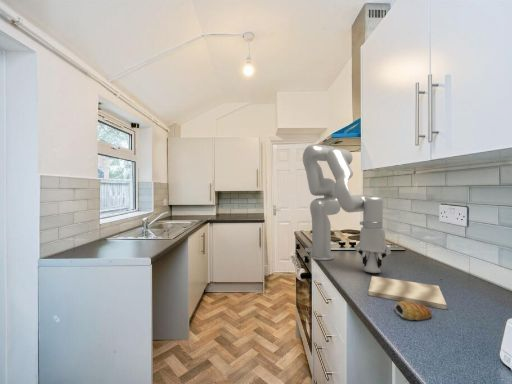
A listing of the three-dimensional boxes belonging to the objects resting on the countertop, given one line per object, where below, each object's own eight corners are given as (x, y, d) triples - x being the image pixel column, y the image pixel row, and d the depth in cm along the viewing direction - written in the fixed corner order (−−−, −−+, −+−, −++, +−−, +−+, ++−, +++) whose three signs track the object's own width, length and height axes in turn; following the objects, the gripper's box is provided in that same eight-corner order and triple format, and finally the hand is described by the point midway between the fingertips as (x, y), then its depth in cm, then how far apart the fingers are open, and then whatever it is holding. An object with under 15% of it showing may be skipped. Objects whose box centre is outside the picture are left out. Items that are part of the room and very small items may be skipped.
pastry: (422, 309, 77) (422, 297, 77) (438, 321, 71) (438, 308, 71) (391, 310, 77) (391, 298, 77) (404, 322, 71) (405, 309, 71)
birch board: (368, 295, 87) (368, 290, 87) (371, 279, 101) (371, 276, 101) (446, 309, 77) (446, 304, 77) (438, 289, 91) (438, 285, 91)
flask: (383, 274, 105) (383, 250, 104) (364, 273, 106) (365, 249, 106) (378, 268, 112) (378, 246, 111) (361, 267, 113) (361, 245, 113)
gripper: (350, 224, 109) (350, 266, 110) (395, 228, 101) (394, 272, 102) (353, 222, 115) (352, 261, 116) (395, 225, 107) (394, 267, 108)
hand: (371, 266), depth 109 cm, fingers closed on flask, 4 cm apart
